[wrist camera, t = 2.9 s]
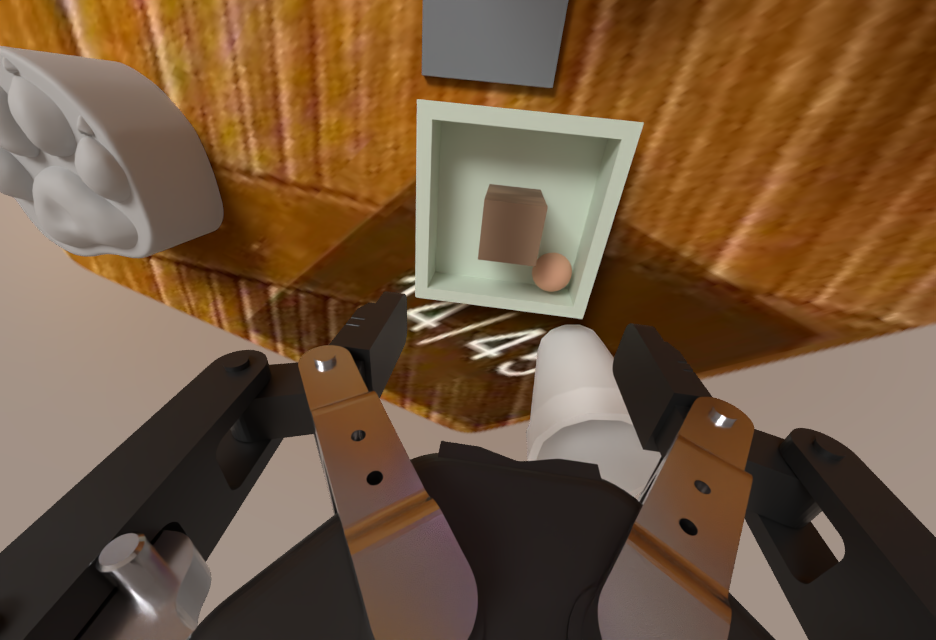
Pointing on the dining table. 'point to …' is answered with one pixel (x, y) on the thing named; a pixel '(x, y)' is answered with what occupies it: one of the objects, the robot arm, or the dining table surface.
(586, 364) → the foam cup
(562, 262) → the ball
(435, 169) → the bin
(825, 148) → the dining table surface
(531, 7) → the pad
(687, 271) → the dining table surface
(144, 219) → the lumpy-topped squat cylinder
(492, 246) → the block
